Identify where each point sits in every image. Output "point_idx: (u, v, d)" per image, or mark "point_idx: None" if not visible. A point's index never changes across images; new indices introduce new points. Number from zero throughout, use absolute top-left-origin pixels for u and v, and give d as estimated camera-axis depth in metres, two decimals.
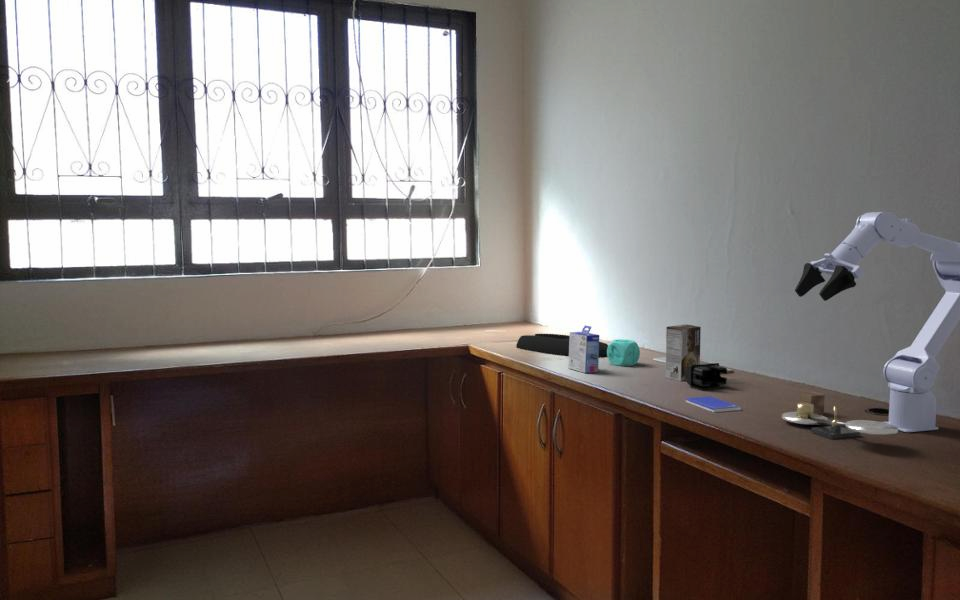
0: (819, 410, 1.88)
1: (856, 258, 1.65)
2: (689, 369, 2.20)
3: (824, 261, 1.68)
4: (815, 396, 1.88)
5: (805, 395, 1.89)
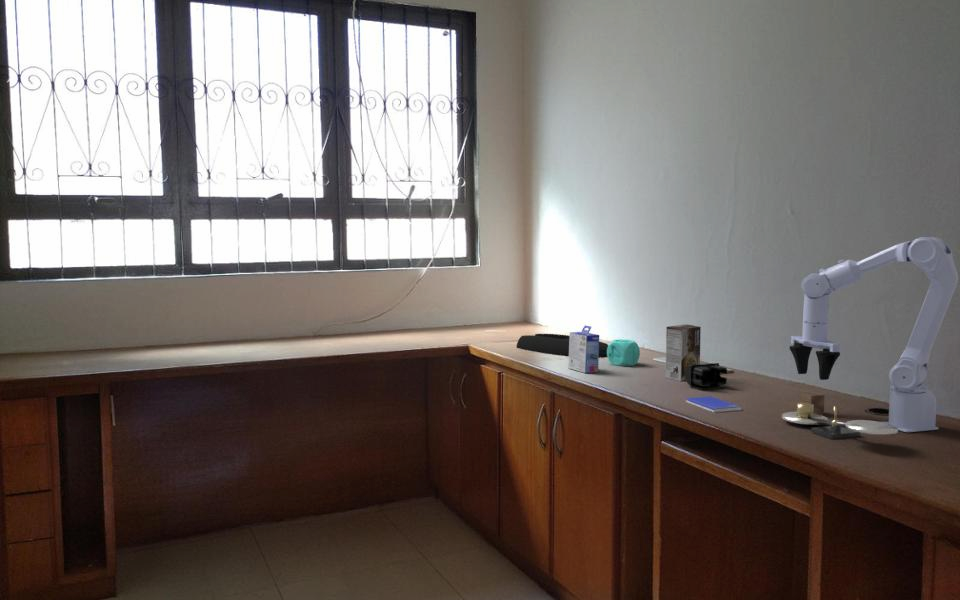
0: (819, 410, 1.88)
1: (824, 328, 1.86)
2: (689, 369, 2.20)
3: None
4: (815, 396, 1.88)
5: (805, 395, 1.89)
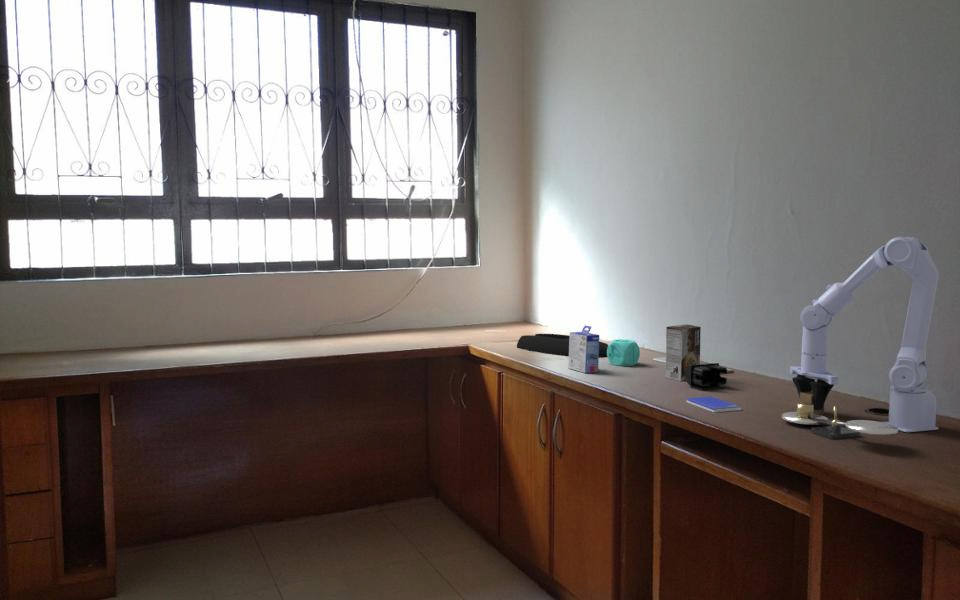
0: (819, 410, 1.88)
1: (822, 360, 1.86)
2: (689, 369, 2.20)
3: None
4: None
5: (805, 395, 1.89)
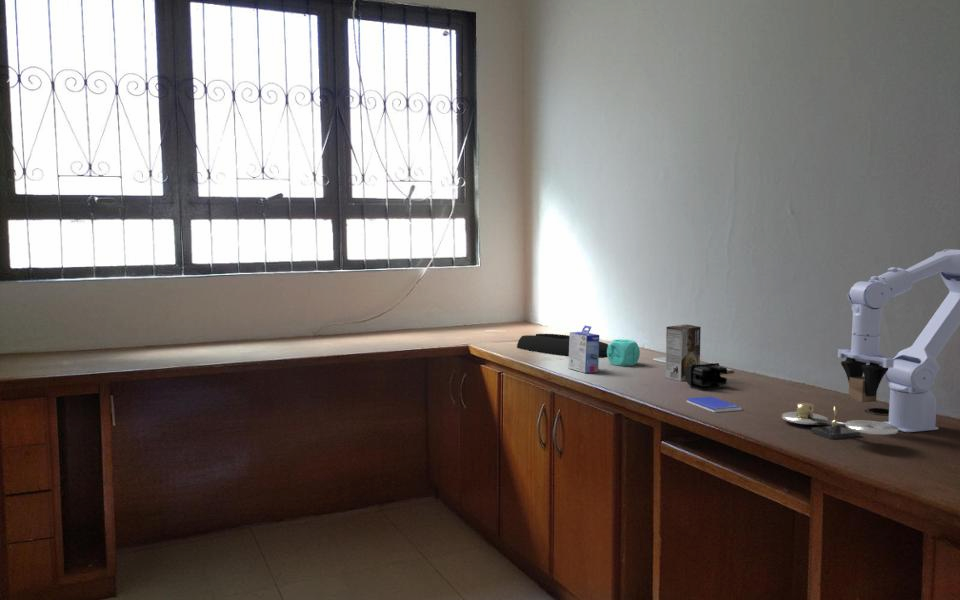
0: (871, 396, 1.72)
1: (875, 342, 1.70)
2: (689, 369, 2.20)
3: None
4: None
5: (855, 380, 1.73)
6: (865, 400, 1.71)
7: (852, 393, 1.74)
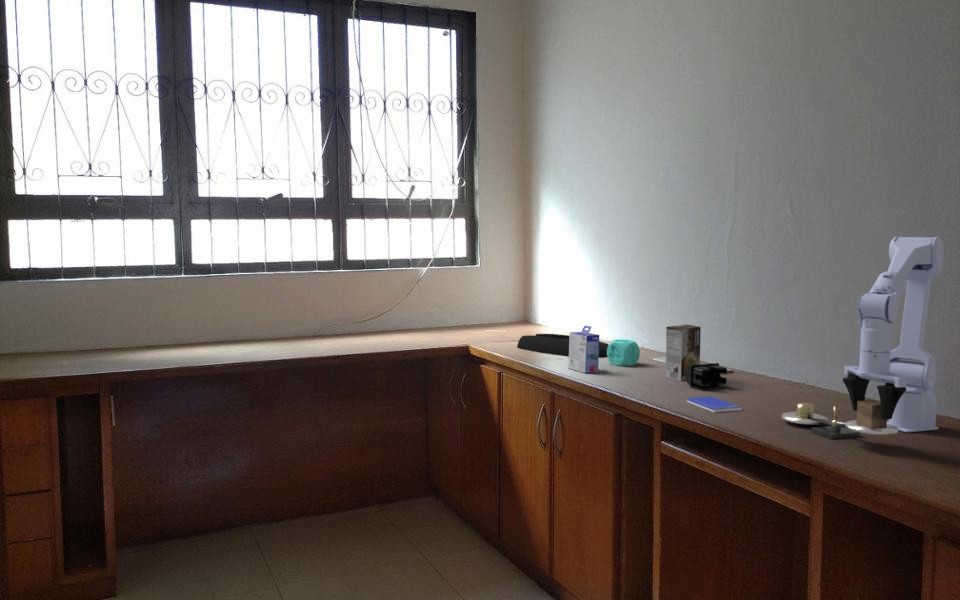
0: (881, 422, 1.59)
1: (886, 359, 1.57)
2: (689, 369, 2.20)
3: None
4: (877, 406, 1.58)
5: (864, 404, 1.60)
6: (875, 426, 1.58)
7: (860, 418, 1.61)
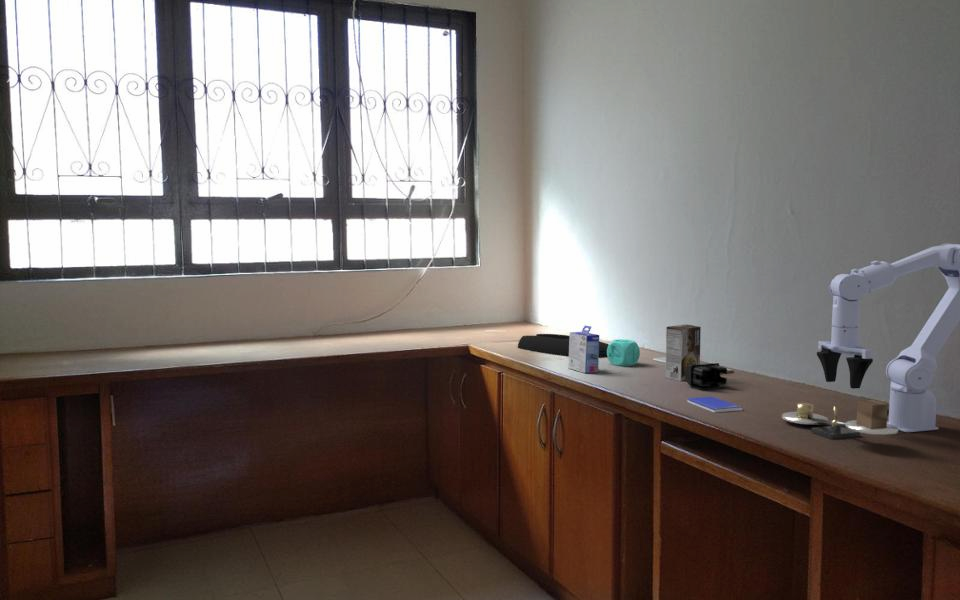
0: (881, 422, 1.59)
1: (855, 333, 1.72)
2: (689, 369, 2.20)
3: None
4: (877, 406, 1.58)
5: (864, 404, 1.60)
6: (875, 426, 1.58)
7: (860, 418, 1.61)
